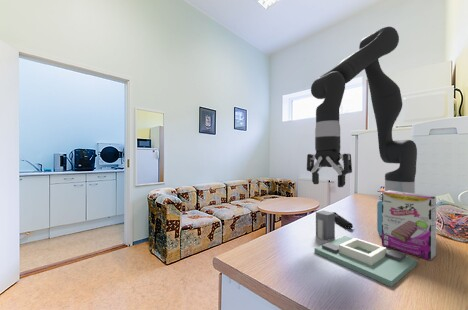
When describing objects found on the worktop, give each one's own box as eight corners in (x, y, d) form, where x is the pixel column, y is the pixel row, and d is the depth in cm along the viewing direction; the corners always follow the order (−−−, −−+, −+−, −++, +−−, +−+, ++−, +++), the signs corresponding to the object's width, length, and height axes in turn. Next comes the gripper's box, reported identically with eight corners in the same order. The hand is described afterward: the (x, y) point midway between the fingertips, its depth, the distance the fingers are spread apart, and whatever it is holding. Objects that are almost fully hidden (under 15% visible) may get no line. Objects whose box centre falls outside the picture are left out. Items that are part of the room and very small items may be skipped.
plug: (323, 233, 71) (323, 210, 71) (334, 237, 68) (334, 213, 68) (314, 236, 69) (314, 212, 69) (325, 240, 65) (325, 215, 65)
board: (344, 239, 66) (344, 229, 66) (417, 264, 51) (417, 251, 51) (314, 252, 57) (314, 241, 57) (391, 286, 42) (391, 271, 42)
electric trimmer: (345, 231, 74) (345, 222, 74) (327, 217, 90) (327, 210, 90) (355, 231, 74) (355, 223, 74) (336, 218, 90) (336, 210, 90)
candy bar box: (381, 246, 61) (380, 191, 61) (387, 242, 64) (387, 189, 64) (431, 262, 52) (431, 197, 52) (437, 256, 55) (436, 195, 55)
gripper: (356, 134, 63) (356, 187, 63) (314, 138, 75) (315, 182, 75) (343, 133, 59) (343, 189, 59) (301, 137, 71) (302, 184, 71)
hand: (327, 185), depth 67 cm, fingers open, 8 cm apart
